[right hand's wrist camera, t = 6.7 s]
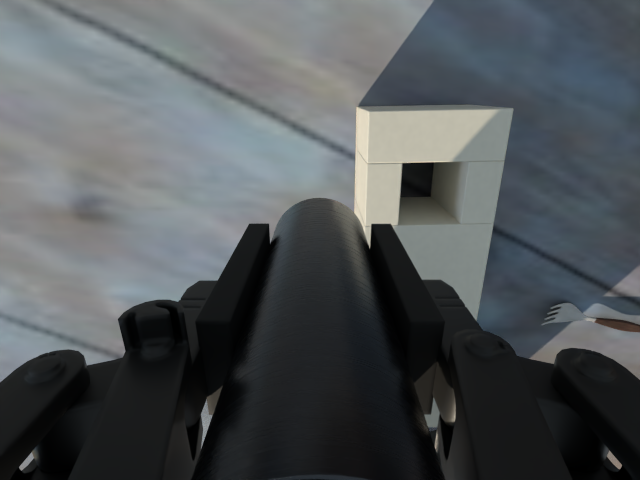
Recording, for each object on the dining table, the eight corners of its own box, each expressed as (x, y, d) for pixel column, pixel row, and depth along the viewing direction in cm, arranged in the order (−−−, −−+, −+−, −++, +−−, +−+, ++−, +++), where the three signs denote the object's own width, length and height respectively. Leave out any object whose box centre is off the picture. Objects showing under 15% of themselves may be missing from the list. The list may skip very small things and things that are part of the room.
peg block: (356, 106, 32) (368, 110, 25) (468, 104, 32) (514, 108, 25) (351, 371, 44) (358, 429, 36) (434, 370, 44) (458, 427, 36)
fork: (657, 340, 42) (673, 352, 40) (530, 316, 40) (540, 327, 39) (670, 322, 41) (687, 332, 39) (540, 296, 40) (551, 306, 38)
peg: (271, 197, 15) (137, 478, 4) (367, 197, 15) (498, 478, 4) (276, 282, 17) (187, 658, 5) (362, 282, 17) (449, 658, 5)
